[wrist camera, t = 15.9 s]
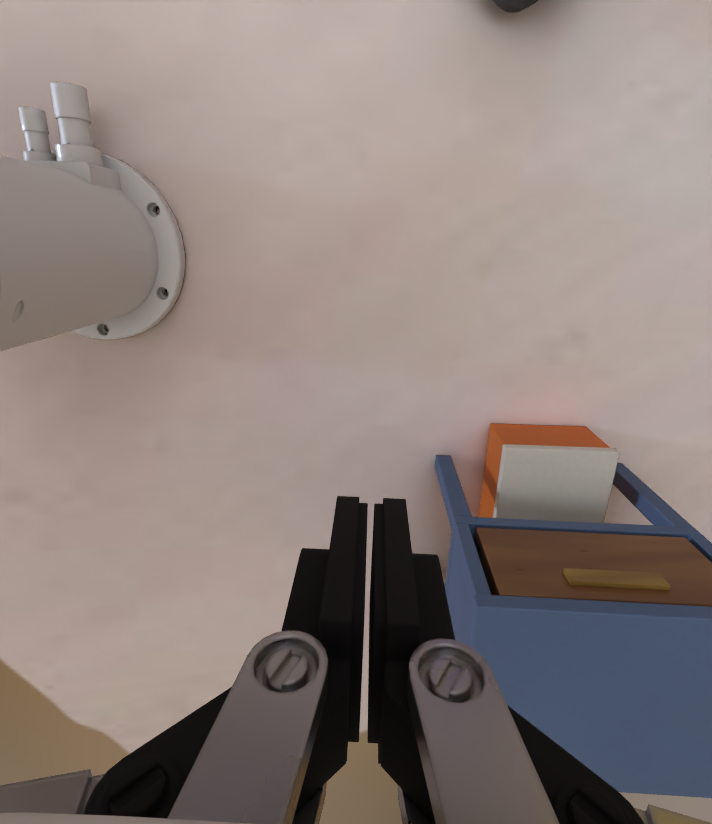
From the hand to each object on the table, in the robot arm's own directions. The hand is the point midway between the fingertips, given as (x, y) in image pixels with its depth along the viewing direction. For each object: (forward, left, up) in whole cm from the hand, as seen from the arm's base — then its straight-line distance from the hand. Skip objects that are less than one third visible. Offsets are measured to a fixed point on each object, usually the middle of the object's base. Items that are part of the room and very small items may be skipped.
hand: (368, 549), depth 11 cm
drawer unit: (+15, +13, -25) cm, 32 cm away
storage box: (+11, +13, -25) cm, 30 cm away
